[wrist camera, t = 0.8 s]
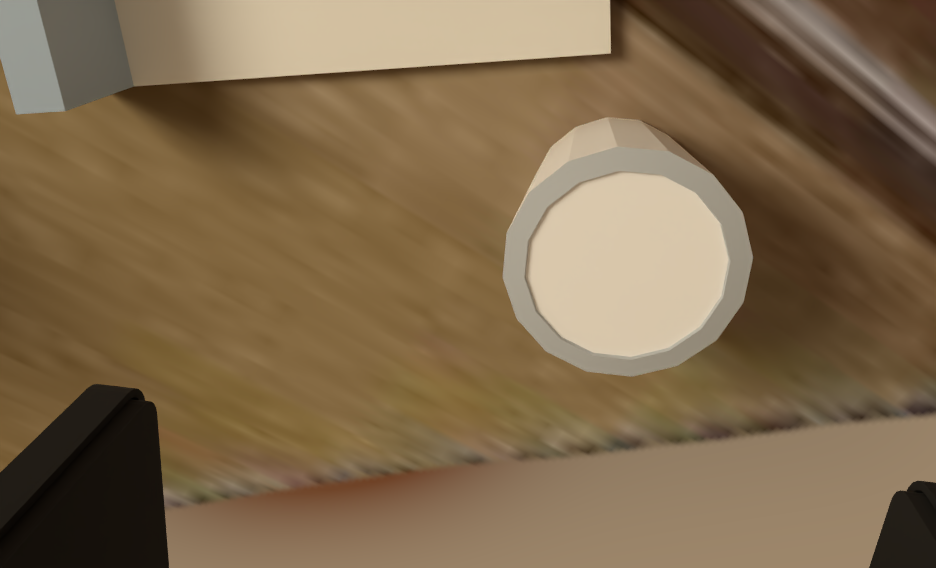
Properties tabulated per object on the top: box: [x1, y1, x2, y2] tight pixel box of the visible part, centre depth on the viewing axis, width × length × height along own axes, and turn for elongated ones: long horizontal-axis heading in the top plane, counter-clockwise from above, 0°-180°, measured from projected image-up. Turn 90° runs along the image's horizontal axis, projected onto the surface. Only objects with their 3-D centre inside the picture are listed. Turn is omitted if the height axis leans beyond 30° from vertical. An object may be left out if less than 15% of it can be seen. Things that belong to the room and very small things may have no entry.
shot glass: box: [503, 117, 753, 376], centre depth 27 cm, size 7×7×7 cm
